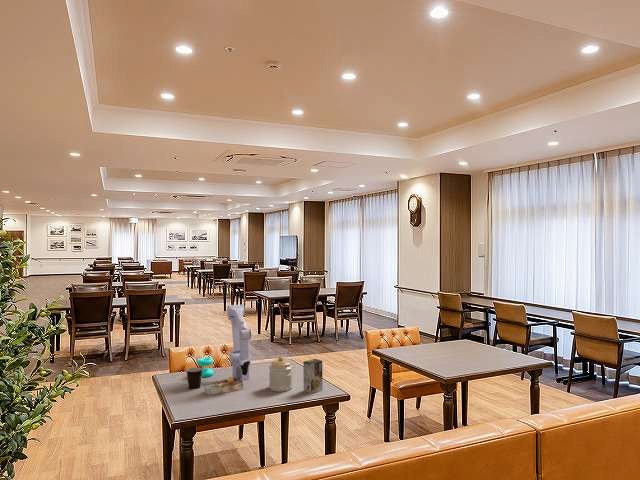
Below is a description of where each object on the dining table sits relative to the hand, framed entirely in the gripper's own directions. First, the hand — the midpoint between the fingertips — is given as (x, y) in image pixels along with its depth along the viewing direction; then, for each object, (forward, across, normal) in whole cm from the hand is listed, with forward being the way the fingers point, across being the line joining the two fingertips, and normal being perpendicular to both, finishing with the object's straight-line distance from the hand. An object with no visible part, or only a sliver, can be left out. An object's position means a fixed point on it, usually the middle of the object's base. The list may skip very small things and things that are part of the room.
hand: (244, 374), depth 260 cm
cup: (+6, +12, -14) cm, 20 cm away
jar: (+7, +2, +21) cm, 22 cm away
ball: (+2, +6, -6) cm, 9 cm away
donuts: (+7, -18, -30) cm, 35 cm away
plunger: (+3, +3, -3) cm, 5 cm away
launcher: (+6, +6, -7) cm, 11 cm away
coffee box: (+7, +3, +39) cm, 40 cm away
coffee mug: (+7, +4, -27) cm, 28 cm away
